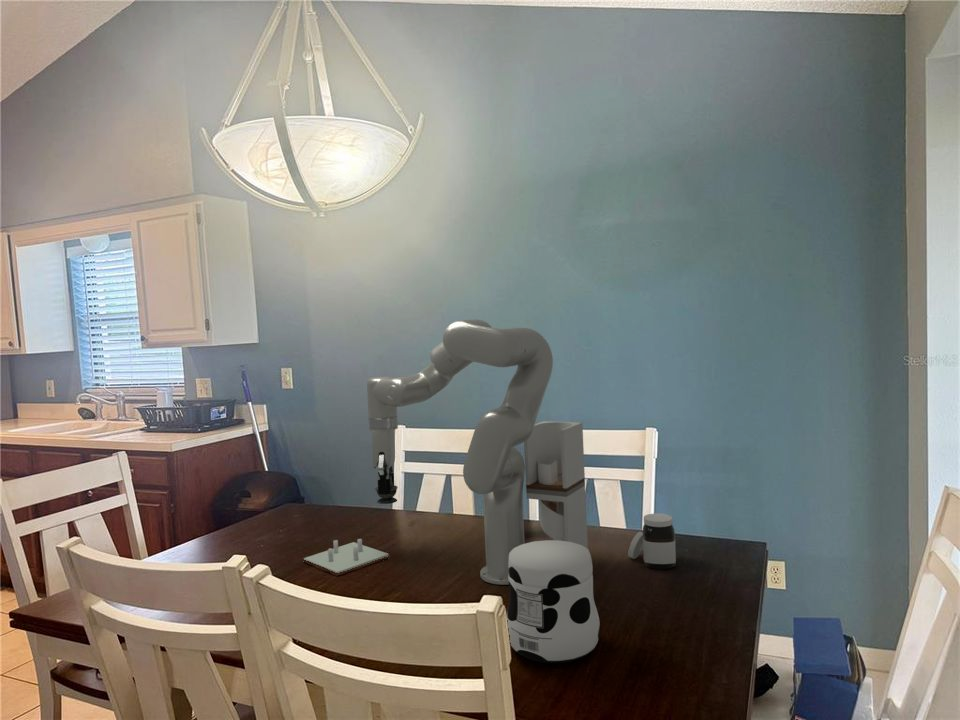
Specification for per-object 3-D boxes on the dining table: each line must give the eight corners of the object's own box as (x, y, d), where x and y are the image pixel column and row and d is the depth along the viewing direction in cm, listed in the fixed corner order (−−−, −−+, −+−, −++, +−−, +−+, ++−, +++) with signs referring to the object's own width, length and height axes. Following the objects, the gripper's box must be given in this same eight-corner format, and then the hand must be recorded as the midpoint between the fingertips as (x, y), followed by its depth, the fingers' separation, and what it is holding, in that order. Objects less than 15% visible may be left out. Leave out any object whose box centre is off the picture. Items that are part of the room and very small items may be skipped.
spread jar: (677, 572, 159) (676, 523, 158) (628, 571, 161) (626, 523, 160) (673, 554, 170) (672, 509, 170) (628, 553, 173) (626, 509, 172)
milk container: (590, 624, 134) (586, 535, 133) (610, 669, 117) (606, 567, 116) (504, 630, 134) (499, 541, 133) (511, 675, 116) (505, 573, 115)
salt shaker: (388, 496, 183) (385, 453, 182) (402, 500, 179) (400, 455, 178) (371, 502, 179) (369, 457, 178) (386, 505, 175) (384, 459, 174)
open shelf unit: (549, 554, 175) (543, 421, 173) (588, 560, 169) (582, 422, 167) (530, 569, 165) (523, 428, 163) (570, 576, 159) (563, 430, 157)
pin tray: (389, 558, 178) (388, 542, 178) (337, 576, 167) (336, 559, 166) (353, 546, 189) (353, 530, 189) (303, 562, 178) (302, 546, 178)
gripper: (374, 419, 186) (377, 483, 187) (363, 429, 169) (366, 500, 170) (401, 418, 186) (404, 482, 187) (392, 428, 169) (396, 499, 170)
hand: (386, 490), depth 179 cm, fingers closed on salt shaker, 5 cm apart
